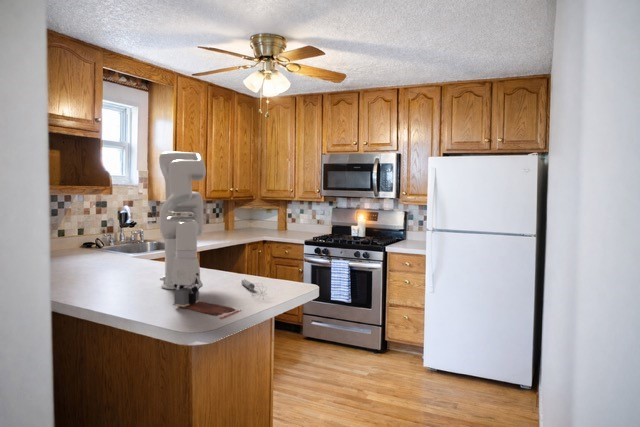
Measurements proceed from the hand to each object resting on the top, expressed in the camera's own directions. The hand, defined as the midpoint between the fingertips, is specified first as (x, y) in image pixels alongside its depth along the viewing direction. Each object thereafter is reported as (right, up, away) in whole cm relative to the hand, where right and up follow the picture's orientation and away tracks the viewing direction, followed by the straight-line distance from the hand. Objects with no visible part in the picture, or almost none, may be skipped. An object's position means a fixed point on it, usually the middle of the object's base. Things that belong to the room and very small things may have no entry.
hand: (186, 302), depth 166 cm
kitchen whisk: (+20, -1, +24) cm, 31 cm away
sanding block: (0, 0, 0) cm, 0 cm away
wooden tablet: (+6, -2, -1) cm, 6 cm away
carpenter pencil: (+18, -3, -11) cm, 21 cm away
